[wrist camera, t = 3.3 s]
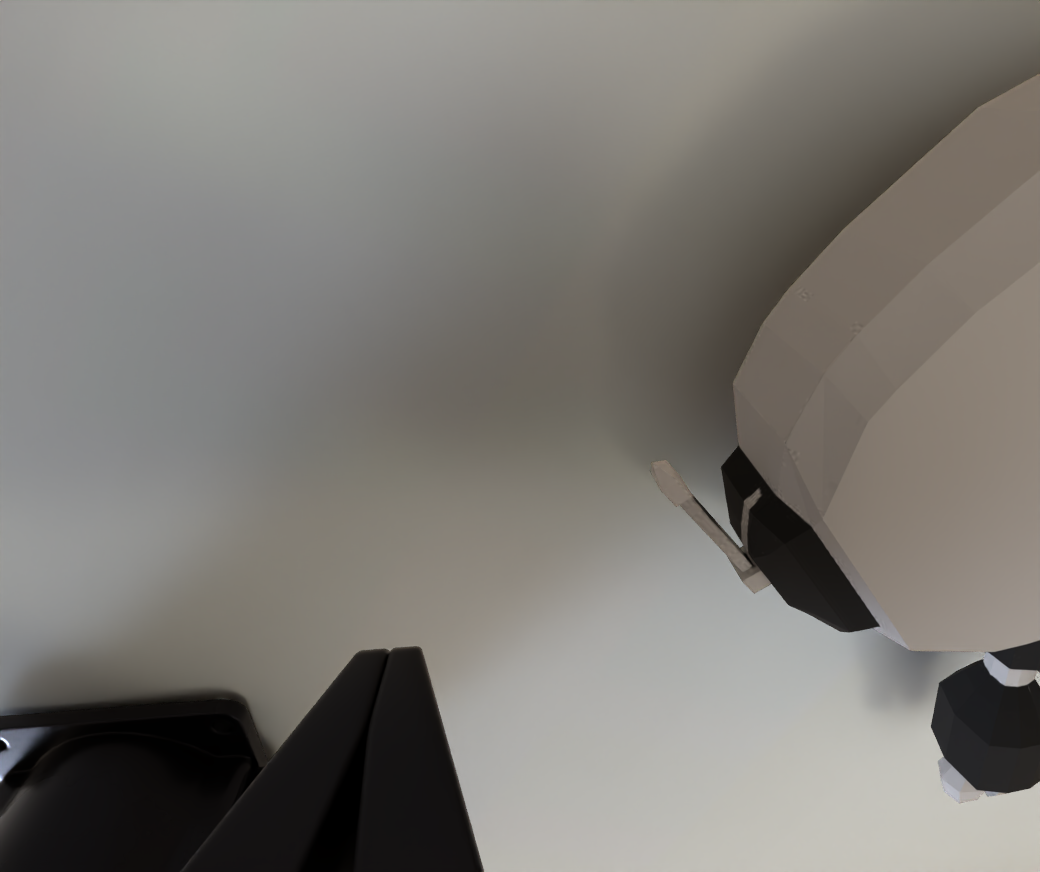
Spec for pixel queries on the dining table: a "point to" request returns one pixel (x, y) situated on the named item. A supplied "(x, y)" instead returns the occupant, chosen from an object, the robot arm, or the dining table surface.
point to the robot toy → (912, 437)
